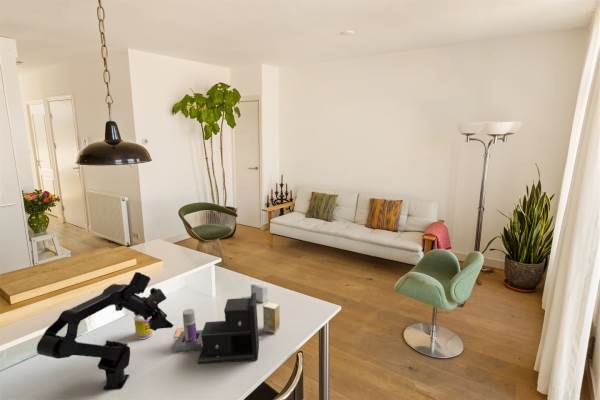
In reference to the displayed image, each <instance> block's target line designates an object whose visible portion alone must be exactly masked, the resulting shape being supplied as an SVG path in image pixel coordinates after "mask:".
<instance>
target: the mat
mask: <svg viewBox="0 0 600 400" xmlns="http://www.w3.org/2000/svg"><path fill="white" fill-rule="evenodd" d="M183 331H184V327H177V330H176V332H175V334H174V336H173V338H174V339H178V338H179V336H180V334H181V332H183Z"/></svg>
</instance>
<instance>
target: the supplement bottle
mask: <svg viewBox="0 0 600 400" xmlns="http://www.w3.org/2000/svg"><path fill="white" fill-rule="evenodd" d="M150 319H151V317H150V318H148V319H147V320H144V318H143V317H142V316H140V315H137V316H136V315H135V314H134V317H133V320H134V329H135V336H136V339H138V340H146V339H148V338H150V337H152V335H153V333H154V330H152V329H150V327H149V325H148V321H149V320H150Z"/></svg>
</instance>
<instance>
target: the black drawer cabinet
mask: <svg viewBox="0 0 600 400" xmlns="http://www.w3.org/2000/svg"><path fill="white" fill-rule="evenodd" d="M257 308H258V307H257V301H256V293H253V294H252V295H251V294H250V297H244V298H243V297H242V298H228V299H227V300H226V303H225V306H224V310H223V312H224V320H219V321H217V320H216V321H205V324H204V326H203V328H202V330H203V331H202V334H201V337H202V345H203V347H202V349H201V351H199V352H200V353H199V356H198V358H197V361H196V363H197V364H198V365H203V364H215V363H217V364H218V363H231V362H233V363H234V362H244V361H247V362H248V361H256V360H259V359H258V358H259V350H260V349H259V348H260V347H259V346H260V339H259V325H258V324H259V322H258V309H257Z"/></svg>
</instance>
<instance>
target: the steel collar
mask: <svg viewBox="0 0 600 400" xmlns="http://www.w3.org/2000/svg"><path fill="white" fill-rule="evenodd" d="M202 331H203V329H200V330H197V329H196V335H197V342H185V334H184V331H183V332H181V334H180V336H179V338H177V341H176V343H175V346H174V348H175V353H188V352H189V353H190V352H201V349H202V347H203V345H202V337H201V334H202Z"/></svg>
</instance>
